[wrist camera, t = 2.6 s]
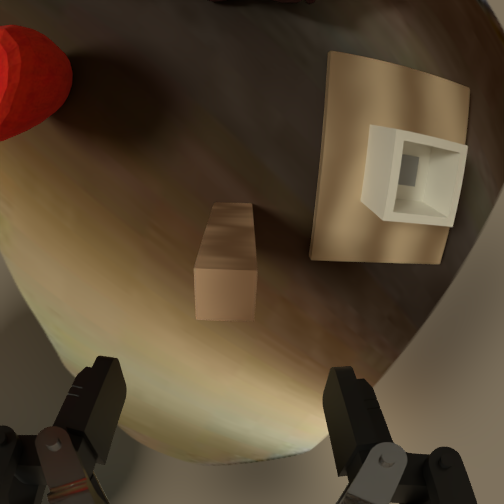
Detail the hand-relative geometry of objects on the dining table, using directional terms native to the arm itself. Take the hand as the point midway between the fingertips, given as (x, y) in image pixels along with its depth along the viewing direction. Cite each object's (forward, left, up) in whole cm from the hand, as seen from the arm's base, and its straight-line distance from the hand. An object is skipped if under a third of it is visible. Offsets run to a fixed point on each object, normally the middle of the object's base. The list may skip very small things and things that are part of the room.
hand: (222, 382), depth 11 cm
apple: (-17, +13, -18) cm, 28 cm away
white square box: (+14, +6, -17) cm, 23 cm away
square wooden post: (0, 0, -18) cm, 18 cm away
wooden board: (+14, +6, -18) cm, 24 cm away
